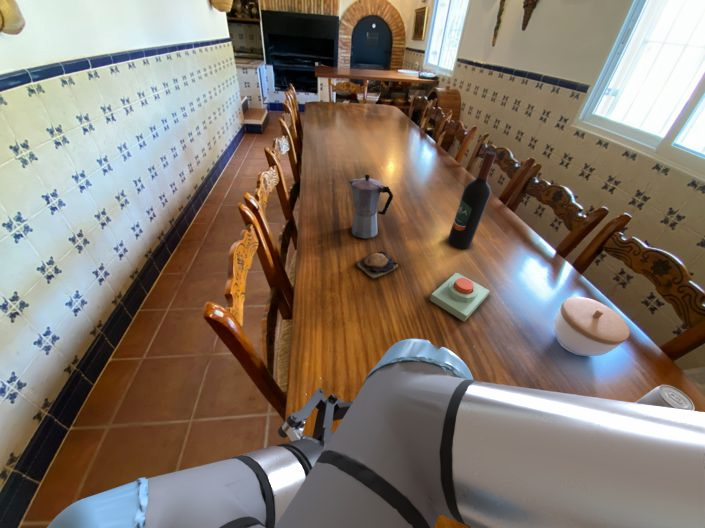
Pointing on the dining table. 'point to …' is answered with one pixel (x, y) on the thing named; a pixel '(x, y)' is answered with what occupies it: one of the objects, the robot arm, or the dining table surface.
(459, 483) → the robot arm
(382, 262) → the bread roll
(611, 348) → the lidded bowl
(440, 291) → the button box
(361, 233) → the moka pot
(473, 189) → the wine bottle
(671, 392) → the beverage can
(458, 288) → the button
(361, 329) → the dining table surface
